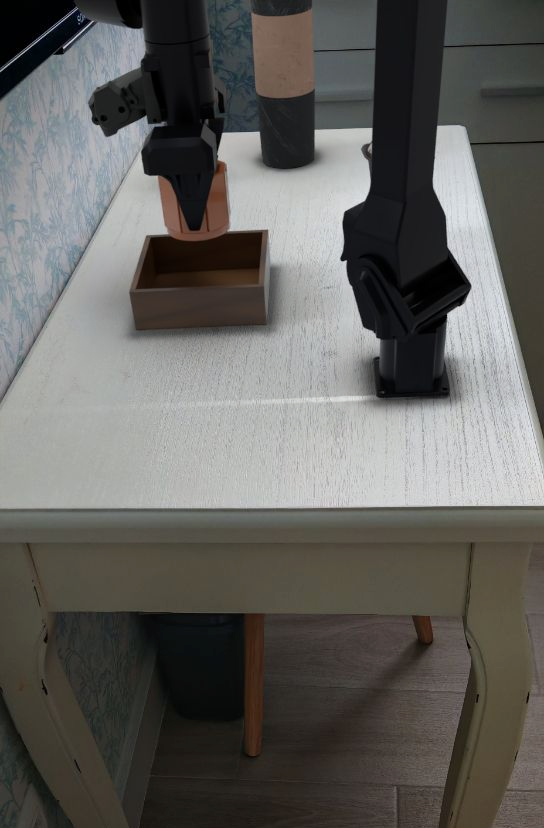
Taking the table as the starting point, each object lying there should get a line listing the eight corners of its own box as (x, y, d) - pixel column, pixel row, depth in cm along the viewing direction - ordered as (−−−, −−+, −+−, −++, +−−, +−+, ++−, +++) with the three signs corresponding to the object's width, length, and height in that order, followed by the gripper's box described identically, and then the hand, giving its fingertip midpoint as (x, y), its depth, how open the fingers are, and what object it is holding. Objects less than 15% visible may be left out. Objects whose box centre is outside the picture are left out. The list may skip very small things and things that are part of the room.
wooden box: (267, 329, 91) (264, 286, 88) (136, 334, 92) (128, 292, 89) (271, 269, 101) (268, 229, 97) (152, 275, 101) (145, 234, 98)
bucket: (228, 239, 89) (223, 180, 85) (163, 242, 89) (155, 184, 85) (232, 213, 93) (227, 155, 89) (170, 216, 94) (162, 158, 90)
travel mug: (285, 173, 120) (276, -5, 106) (249, 159, 125) (236, -13, 111) (328, 157, 124) (325, -18, 109) (291, 144, 128) (284, -26, 114)
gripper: (102, 14, 87) (130, 184, 98) (65, 73, 73) (102, 261, 84) (219, 7, 86) (234, 178, 97) (203, 65, 73) (222, 256, 84)
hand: (197, 215), depth 90 cm, fingers closed on bucket, 6 cm apart
